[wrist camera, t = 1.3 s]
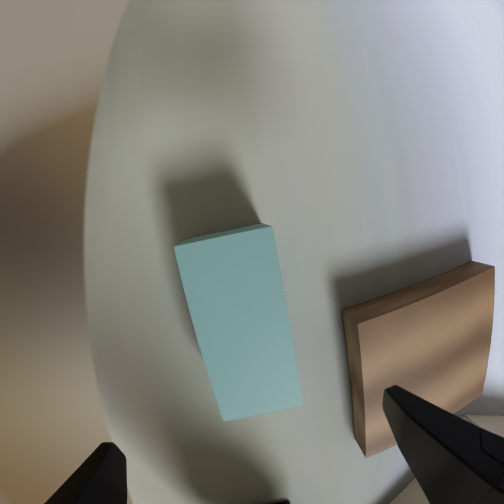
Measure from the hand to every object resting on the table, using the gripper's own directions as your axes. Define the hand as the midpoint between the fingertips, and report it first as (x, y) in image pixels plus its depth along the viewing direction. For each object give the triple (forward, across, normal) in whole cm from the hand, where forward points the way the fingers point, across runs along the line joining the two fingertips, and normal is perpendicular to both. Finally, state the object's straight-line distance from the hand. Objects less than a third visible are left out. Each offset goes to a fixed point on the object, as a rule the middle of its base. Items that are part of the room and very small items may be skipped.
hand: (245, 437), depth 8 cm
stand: (+11, -14, +11) cm, 21 cm away
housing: (+13, 0, +2) cm, 13 cm away
